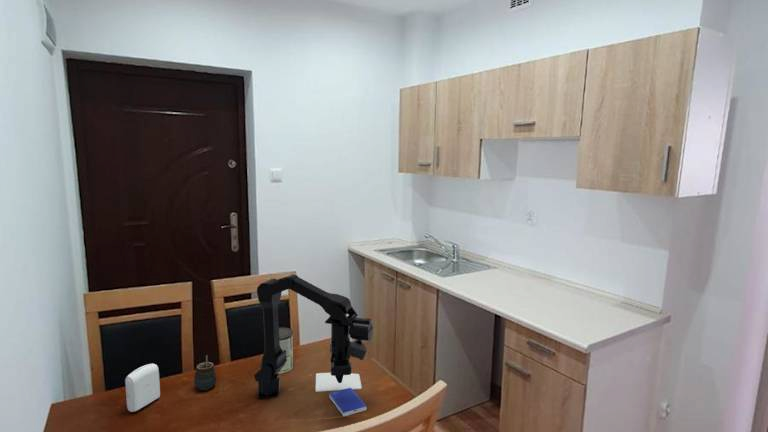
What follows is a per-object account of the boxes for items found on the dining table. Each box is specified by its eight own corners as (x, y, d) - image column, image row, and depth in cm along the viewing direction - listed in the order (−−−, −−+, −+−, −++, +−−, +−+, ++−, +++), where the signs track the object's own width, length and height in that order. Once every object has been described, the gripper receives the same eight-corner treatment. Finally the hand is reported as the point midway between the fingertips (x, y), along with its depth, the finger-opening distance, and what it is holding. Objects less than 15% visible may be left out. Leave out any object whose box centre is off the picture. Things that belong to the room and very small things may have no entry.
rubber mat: (315, 391, 144) (315, 391, 144) (316, 374, 156) (316, 373, 156) (361, 389, 146) (361, 388, 146) (358, 371, 159) (358, 371, 159)
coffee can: (261, 366, 161) (260, 331, 160) (284, 358, 168) (284, 325, 167) (273, 376, 154) (273, 340, 152) (298, 368, 161) (298, 333, 159)
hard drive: (329, 392, 141) (343, 412, 130) (351, 387, 144) (366, 405, 134) (329, 397, 141) (343, 416, 130) (351, 391, 145) (366, 410, 134)
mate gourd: (194, 394, 141) (193, 366, 140) (194, 383, 148) (193, 356, 147) (217, 390, 144) (216, 362, 143) (216, 379, 151) (215, 353, 150)
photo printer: (134, 413, 130) (132, 376, 128) (124, 410, 131) (122, 373, 130) (162, 396, 139) (160, 361, 138) (153, 394, 141) (151, 359, 139)
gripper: (368, 348, 126) (367, 396, 128) (362, 324, 145) (361, 367, 146) (331, 349, 125) (330, 398, 127) (330, 326, 143) (329, 369, 145)
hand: (339, 382), depth 136 cm, fingers closed
